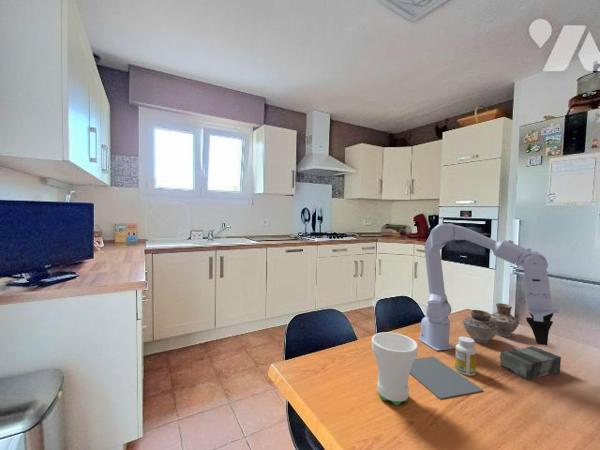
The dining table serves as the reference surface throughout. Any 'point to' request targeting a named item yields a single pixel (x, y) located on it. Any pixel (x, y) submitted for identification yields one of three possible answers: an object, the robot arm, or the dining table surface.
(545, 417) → the dining table surface
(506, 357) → the stone block
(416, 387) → the dining table surface
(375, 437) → the dining table surface
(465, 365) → the supplement bottle
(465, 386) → the mat
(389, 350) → the cup
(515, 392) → the dining table surface
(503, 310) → the pottery
